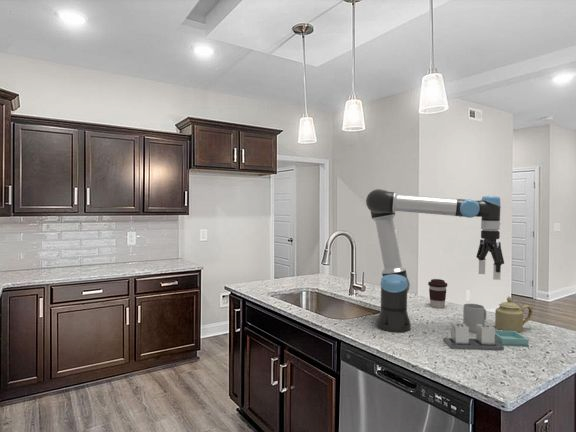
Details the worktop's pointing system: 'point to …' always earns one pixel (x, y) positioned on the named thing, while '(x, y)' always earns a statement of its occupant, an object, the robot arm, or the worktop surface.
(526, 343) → the parts tray
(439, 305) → the coffee cup
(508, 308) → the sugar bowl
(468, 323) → the mug
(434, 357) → the worktop surface
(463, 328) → the light gray block
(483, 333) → the steel cube with knob
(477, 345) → the grey slotted plate
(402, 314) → the robot arm
